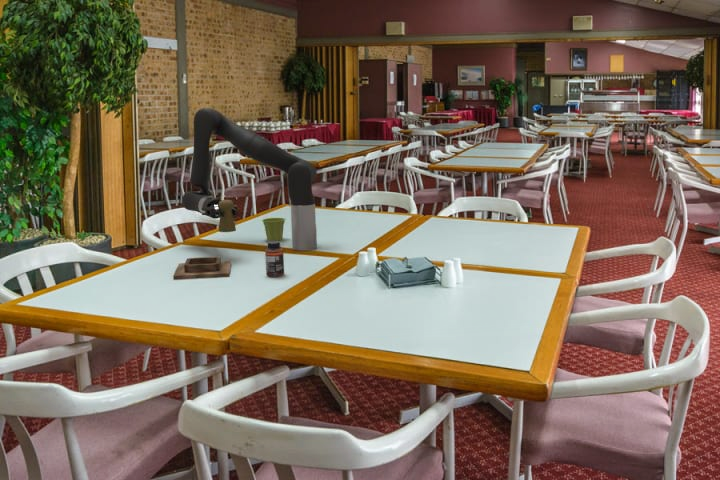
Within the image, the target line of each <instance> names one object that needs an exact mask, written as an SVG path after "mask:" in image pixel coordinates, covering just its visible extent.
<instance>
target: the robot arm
mask: <svg viewBox="0 0 720 480" xmlns="http://www.w3.org/2000/svg"><path fill="white" fill-rule="evenodd" d="M212 135H214V136H217V137H219V138H222V139H223V140H226V141H227V142H228V143H230V144H231V145H232V146H234V148H235V149H237V150H238V151H239V152H240V153H241V154H243V155H245V156H246V157H248V158H250V159H252V160H254V161H255V162H258V163H260V164H263V165H266V166H269V167H272V168H275V169H278V170H280V171H282V172H284V173H286V174H287V189H288V197H289V200H290V217H291V219H290V221H291V242H292V243H291V246H292V247H291V248H292V250H294V251H312V250H317V249H318V240H317V239H318V238H317V236H318V235H317V224H316V223H317V221H316V220H317V219H316V197H315V195H314V193H313V187H312V186H313V185H312V184H313V182H314V181H315V180H316V179H317V176H318V172H317V169H316V167H315V166H314V164H313V163H312V162H310V161H308V160H305V159H303V158H301V157H299V156H296V155H294V154H292V153H290V152H288V151H287V150H285V149H283V148H281V147H280V146H278V145H277V144H275V143H273V142H272V141H270V140H268V139H267V138H265V137H263V136H261V135H260V134H258V133H256V132H254V131H252V130H250V129H247V128H246V127H244V126H241V125H238V124H237V123H235V122H233V121H232V120H230V119H229V118H228V117H226V116H225V115H223V113H221V112H219V111H218V110H216V109H213V108H207V107H206V108H200V109H198V110H197V111H196V112H195V114H194V117H193V152H192V153H193V154H192V163H191V168H190V169H191V170H190V178H189V183H190V185H191V186H194V187H196V188H199V191H200V192H198V191H187V192H185V193H184V194H183V196H182V197H181V204H182V206H183V207H184V209H185V210H187V211H193V212H197V213H200V214H201V216H206V217H209V218H211V219H214V220H215V219H220V217H224V211H223V210H220V208H219V202H220V201H222V200H223V199H220V198H218V197H214V196H211V195H210V192H209V191H210V189H209V179H210V171H211V156H210V143H211V137H212ZM238 210H239V209H238V205H237V204H234V203H233V208H232V211H233V217H235V216H237V215H238V214H239V213H238V212H239V211H238Z"/></svg>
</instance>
